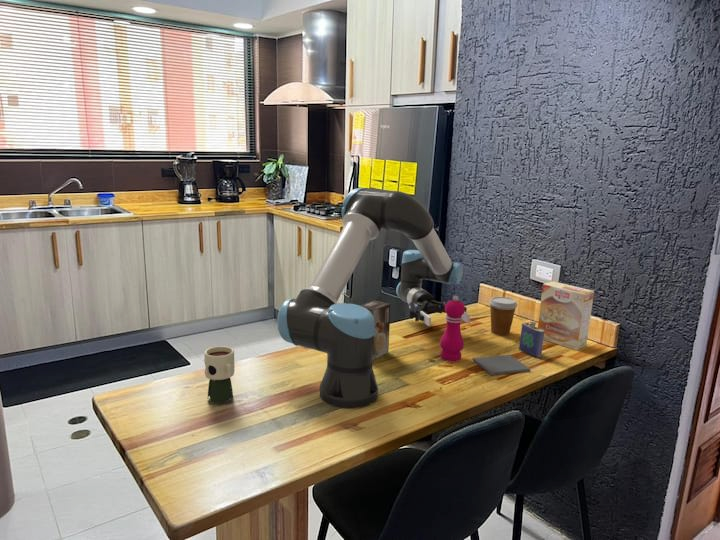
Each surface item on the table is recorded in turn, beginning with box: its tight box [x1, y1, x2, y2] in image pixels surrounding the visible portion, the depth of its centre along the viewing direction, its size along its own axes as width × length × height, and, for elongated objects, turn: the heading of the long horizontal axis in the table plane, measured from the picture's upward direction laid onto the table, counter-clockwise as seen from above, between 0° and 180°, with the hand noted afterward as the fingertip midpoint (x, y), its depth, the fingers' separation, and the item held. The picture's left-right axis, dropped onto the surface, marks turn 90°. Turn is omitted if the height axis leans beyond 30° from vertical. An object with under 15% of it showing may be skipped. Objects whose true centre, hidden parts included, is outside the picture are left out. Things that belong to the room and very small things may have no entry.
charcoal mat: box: [471, 354, 531, 376], centre depth 165 cm, size 13×11×1 cm
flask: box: [518, 320, 544, 359], centre depth 175 cm, size 9×3×11 cm, turn 25°
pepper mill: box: [439, 295, 466, 362], centre depth 167 cm, size 7×7×20 cm
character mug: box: [203, 345, 235, 404], centre depth 136 cm, size 11×7×13 cm, turn 41°
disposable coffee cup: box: [488, 296, 518, 336], centre depth 192 cm, size 10×10×12 cm
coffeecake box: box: [537, 280, 595, 351], centre depth 185 cm, size 15×7×20 cm, turn 42°
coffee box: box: [359, 299, 392, 361], centre depth 168 cm, size 9×6×16 cm
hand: (449, 320), depth 171 cm, fingers open, 13 cm apart
